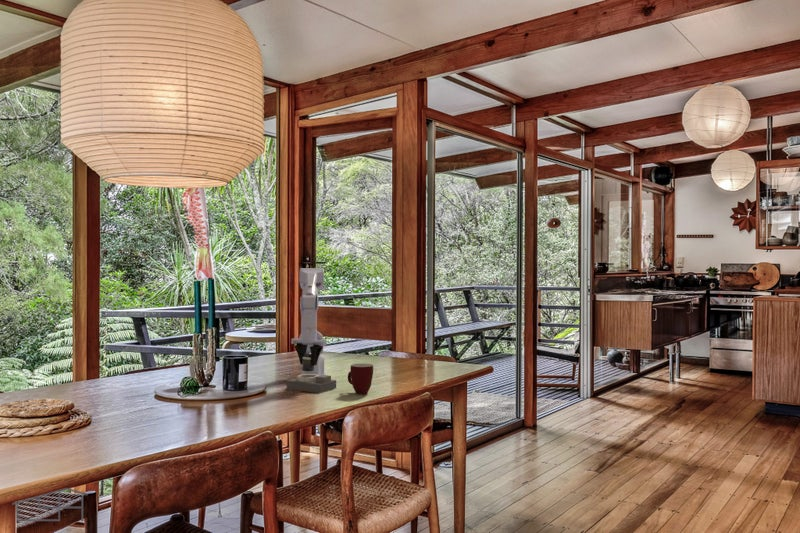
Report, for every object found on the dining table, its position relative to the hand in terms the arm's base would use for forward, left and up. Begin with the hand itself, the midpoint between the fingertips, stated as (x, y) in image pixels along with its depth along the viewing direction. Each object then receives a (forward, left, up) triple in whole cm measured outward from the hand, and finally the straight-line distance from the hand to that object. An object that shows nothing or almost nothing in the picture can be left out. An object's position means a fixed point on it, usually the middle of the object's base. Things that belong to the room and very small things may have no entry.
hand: (308, 364), depth 231 cm
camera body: (0, +1, -9) cm, 9 cm away
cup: (+17, -37, -9) cm, 41 cm away
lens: (0, 0, -2) cm, 2 cm away
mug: (-2, +20, -9) cm, 22 cm away
